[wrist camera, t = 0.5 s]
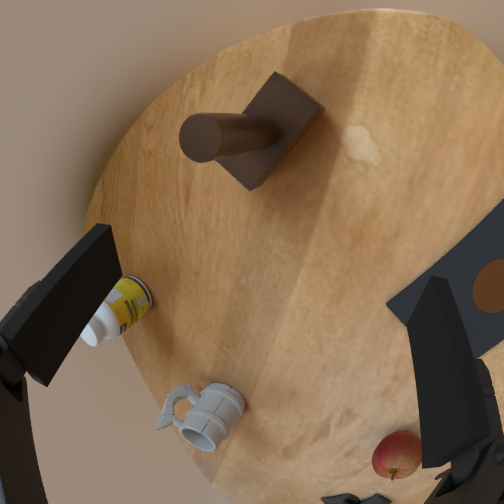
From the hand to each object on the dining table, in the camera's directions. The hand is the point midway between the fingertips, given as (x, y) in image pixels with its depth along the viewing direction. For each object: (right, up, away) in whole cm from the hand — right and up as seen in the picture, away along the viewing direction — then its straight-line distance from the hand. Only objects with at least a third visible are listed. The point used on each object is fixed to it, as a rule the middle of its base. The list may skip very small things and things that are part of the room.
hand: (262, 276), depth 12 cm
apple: (+23, -28, +25) cm, 44 cm away
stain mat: (+25, -2, +13) cm, 29 cm away
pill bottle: (-18, -5, +34) cm, 39 cm away
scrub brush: (+2, +13, +17) cm, 21 cm away
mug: (-6, -22, +36) cm, 43 cm away
